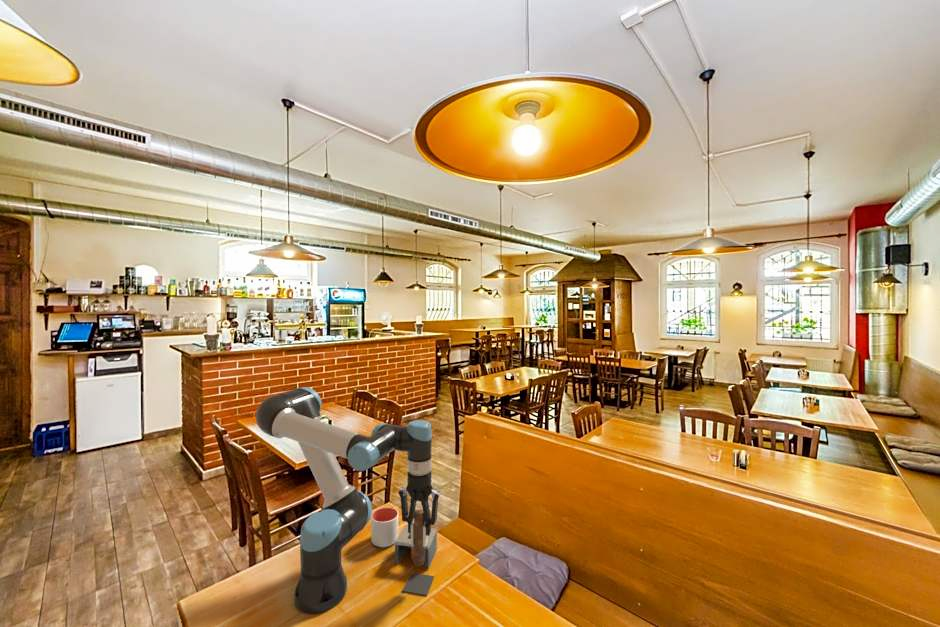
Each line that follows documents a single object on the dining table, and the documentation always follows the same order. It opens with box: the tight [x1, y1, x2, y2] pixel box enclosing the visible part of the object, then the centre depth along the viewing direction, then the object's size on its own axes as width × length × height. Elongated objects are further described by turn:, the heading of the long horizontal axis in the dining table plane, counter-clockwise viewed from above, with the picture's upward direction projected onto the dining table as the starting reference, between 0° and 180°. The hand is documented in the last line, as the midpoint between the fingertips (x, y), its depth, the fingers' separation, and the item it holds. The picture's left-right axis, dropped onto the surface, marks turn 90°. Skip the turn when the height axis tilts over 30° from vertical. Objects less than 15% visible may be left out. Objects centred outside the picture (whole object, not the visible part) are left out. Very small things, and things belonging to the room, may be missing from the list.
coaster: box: [401, 572, 435, 597], centre depth 121 cm, size 8×8×1 cm
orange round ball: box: [410, 547, 414, 562], centre depth 133 cm, size 4×4×4 cm
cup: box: [370, 506, 399, 548], centre depth 142 cm, size 10×10×10 cm
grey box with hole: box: [394, 524, 438, 570], centre depth 133 cm, size 12×10×8 cm
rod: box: [413, 509, 425, 566], centre depth 120 cm, size 3×3×16 cm
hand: (419, 543), depth 120 cm, fingers closed on rod, 3 cm apart
